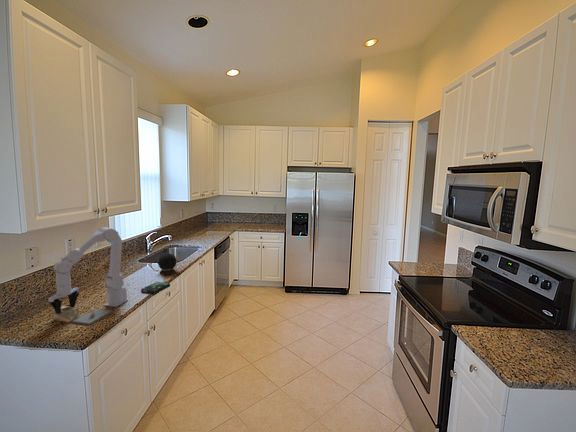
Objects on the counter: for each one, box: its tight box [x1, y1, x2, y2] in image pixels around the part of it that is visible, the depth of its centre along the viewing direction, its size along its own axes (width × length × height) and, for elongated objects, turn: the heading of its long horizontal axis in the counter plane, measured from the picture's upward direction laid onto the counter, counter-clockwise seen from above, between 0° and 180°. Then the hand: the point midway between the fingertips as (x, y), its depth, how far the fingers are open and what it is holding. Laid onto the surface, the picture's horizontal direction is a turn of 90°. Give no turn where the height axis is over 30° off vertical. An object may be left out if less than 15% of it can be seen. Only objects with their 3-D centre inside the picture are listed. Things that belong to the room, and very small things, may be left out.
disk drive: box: [140, 281, 171, 295], centre depth 190 cm, size 10×3×15 cm
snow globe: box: [157, 252, 178, 276], centre depth 223 cm, size 13×13×15 cm
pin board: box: [71, 307, 113, 326], centre depth 150 cm, size 14×10×5 cm
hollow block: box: [52, 305, 80, 323], centre depth 148 cm, size 6×9×5 cm, turn 78°
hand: (65, 310), depth 148 cm, fingers open, 7 cm apart
